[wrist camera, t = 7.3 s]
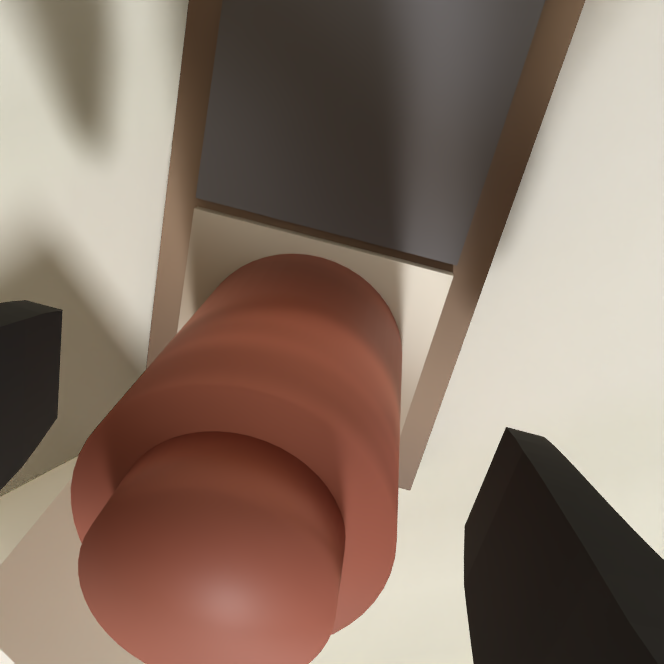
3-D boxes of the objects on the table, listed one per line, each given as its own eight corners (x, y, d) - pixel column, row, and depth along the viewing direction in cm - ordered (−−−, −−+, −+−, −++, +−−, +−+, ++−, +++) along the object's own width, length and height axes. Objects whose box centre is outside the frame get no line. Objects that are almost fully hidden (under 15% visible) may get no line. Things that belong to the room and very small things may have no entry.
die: (99, 443, 15) (-41, 615, 10) (219, 586, 16) (142, 792, 12) (-38, 515, 16) (-214, 693, 12) (82, 640, 18) (-33, 842, 13)
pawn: (331, 213, 11) (251, 366, 5) (439, 390, 12) (462, 664, 7) (158, 316, 12) (-51, 526, 7) (271, 468, 13) (172, 755, 8)
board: (278, -591, 8) (261, -676, 7) (742, -480, 8) (787, -552, 7) (154, 400, 14) (136, 423, 13) (410, 468, 14) (409, 496, 13)
